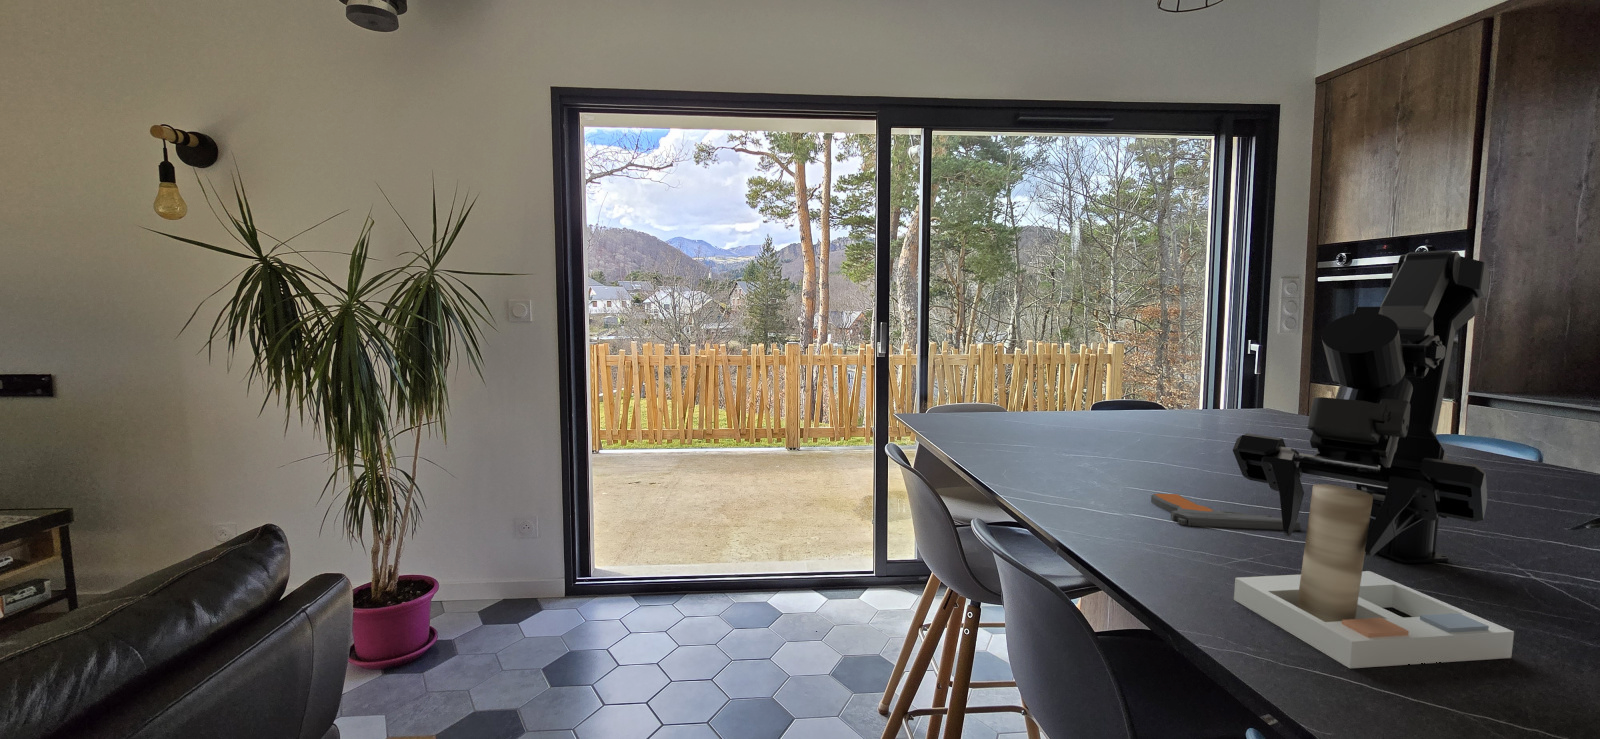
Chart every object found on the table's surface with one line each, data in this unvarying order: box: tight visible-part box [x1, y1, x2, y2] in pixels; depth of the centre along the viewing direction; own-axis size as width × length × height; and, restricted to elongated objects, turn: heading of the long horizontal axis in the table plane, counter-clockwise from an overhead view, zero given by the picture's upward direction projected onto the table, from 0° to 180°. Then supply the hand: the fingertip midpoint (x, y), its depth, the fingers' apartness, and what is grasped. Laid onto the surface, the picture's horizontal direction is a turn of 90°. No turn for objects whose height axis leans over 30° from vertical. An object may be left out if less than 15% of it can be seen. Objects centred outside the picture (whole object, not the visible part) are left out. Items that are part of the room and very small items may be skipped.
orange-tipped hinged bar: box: [1150, 493, 1302, 531], centre depth 95 cm, size 2×16×12 cm
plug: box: [1297, 483, 1373, 622], centre depth 61 cm, size 4×4×14 cm
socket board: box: [1233, 570, 1515, 669], centre depth 62 cm, size 16×13×3 cm
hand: (1325, 543), depth 60 cm, fingers open, 6 cm apart
